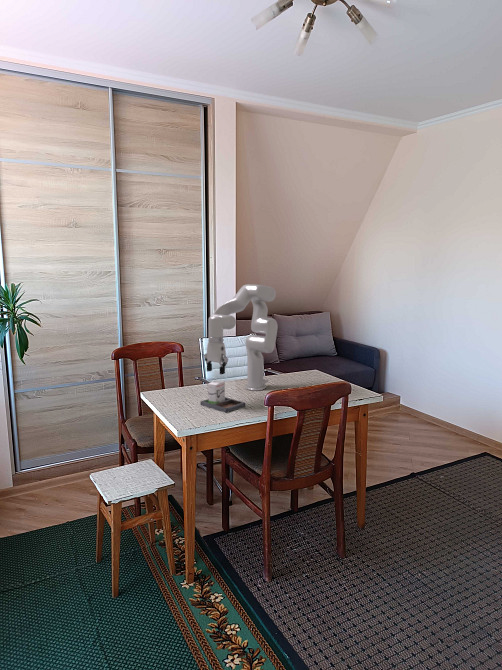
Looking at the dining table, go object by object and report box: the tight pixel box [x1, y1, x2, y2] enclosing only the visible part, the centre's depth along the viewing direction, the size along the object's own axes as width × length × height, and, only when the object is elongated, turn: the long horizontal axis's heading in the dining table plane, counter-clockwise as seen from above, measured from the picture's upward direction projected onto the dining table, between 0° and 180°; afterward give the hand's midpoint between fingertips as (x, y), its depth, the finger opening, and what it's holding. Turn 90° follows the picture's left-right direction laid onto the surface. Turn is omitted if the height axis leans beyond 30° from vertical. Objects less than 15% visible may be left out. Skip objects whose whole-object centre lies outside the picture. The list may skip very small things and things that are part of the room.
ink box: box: [208, 379, 226, 404], centre depth 246 cm, size 9×5×12 cm, turn 149°
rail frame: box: [200, 396, 246, 414], centre depth 243 cm, size 14×19×2 cm
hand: (215, 372), depth 243 cm, fingers open, 9 cm apart
